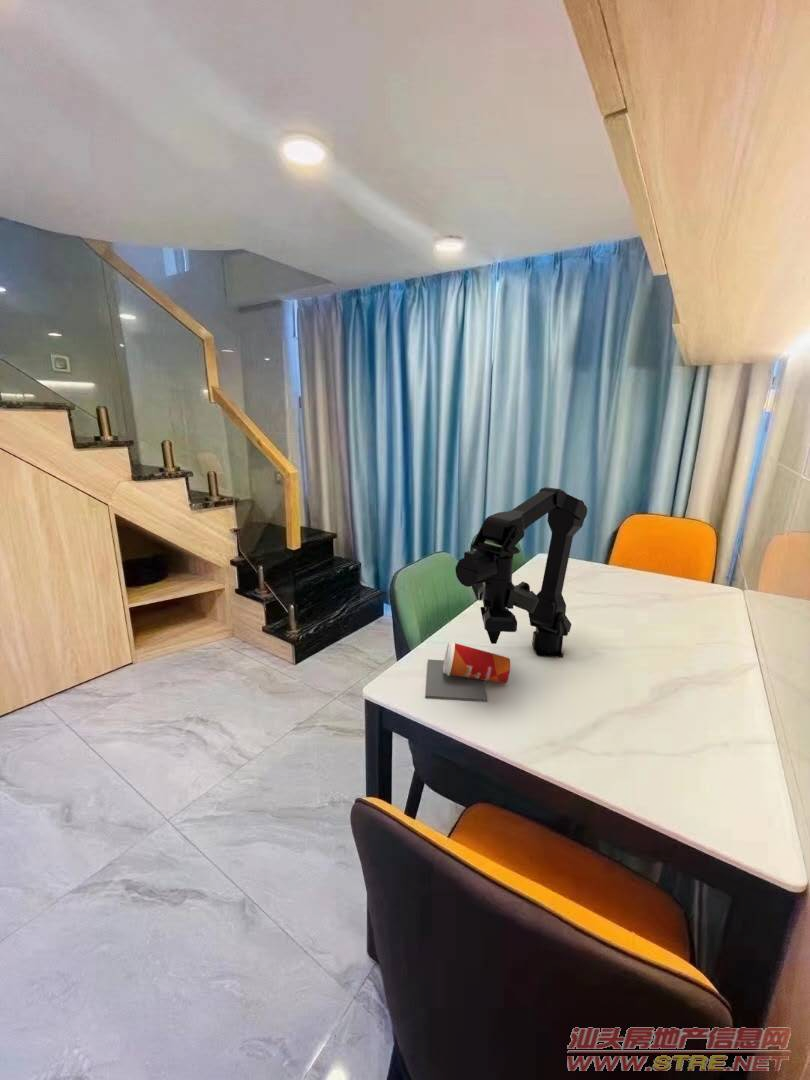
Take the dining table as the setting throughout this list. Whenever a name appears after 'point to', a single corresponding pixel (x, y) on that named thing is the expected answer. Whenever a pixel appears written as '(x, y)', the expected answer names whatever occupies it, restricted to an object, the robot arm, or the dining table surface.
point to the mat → (452, 685)
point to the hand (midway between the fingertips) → (493, 643)
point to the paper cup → (475, 663)
